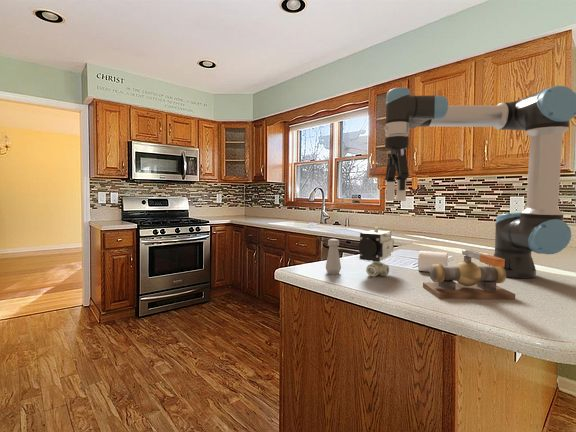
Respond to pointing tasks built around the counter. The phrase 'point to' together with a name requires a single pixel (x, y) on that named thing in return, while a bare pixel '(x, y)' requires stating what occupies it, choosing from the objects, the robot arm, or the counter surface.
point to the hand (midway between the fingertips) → (395, 200)
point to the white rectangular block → (431, 260)
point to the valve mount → (467, 281)
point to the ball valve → (376, 250)
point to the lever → (485, 258)
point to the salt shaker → (333, 258)
